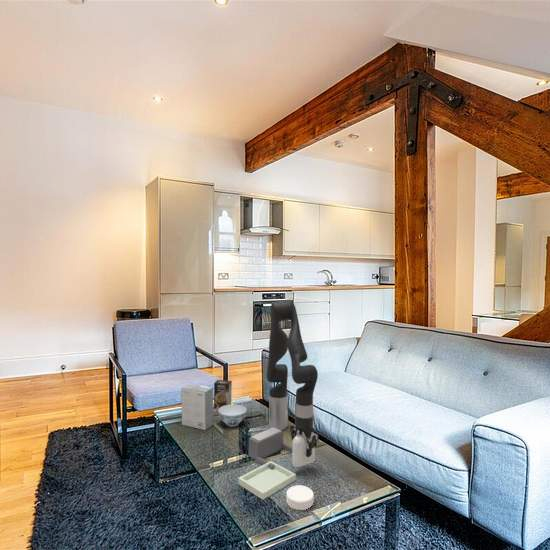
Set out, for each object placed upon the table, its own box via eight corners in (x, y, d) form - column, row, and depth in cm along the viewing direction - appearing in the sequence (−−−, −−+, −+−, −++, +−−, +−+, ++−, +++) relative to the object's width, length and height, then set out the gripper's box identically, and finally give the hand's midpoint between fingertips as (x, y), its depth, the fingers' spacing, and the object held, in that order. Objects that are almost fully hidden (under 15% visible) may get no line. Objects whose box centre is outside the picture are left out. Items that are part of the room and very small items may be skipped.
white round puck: (317, 509, 134) (317, 499, 134) (290, 512, 132) (290, 502, 132) (309, 492, 144) (309, 483, 144) (283, 495, 142) (283, 486, 142)
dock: (275, 443, 182) (275, 425, 182) (301, 455, 171) (301, 436, 170) (246, 457, 169) (246, 438, 168) (272, 471, 158) (272, 450, 157)
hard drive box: (213, 424, 201) (213, 387, 201) (205, 430, 194) (205, 392, 194) (189, 419, 208) (189, 383, 207) (180, 424, 201) (180, 387, 200)
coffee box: (213, 410, 221) (213, 382, 220) (216, 406, 227) (217, 379, 227) (228, 411, 219) (228, 383, 219) (231, 407, 226) (231, 380, 225)
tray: (270, 466, 161) (270, 460, 161) (295, 480, 152) (295, 474, 151) (238, 483, 148) (238, 477, 148) (263, 500, 139) (263, 493, 139)
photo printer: (309, 457, 163) (310, 428, 162) (316, 461, 159) (316, 432, 159) (290, 464, 157) (290, 434, 156) (296, 469, 153) (297, 439, 153)
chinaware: (250, 419, 208) (250, 405, 208) (241, 431, 194) (241, 416, 193) (224, 416, 212) (224, 403, 212) (213, 428, 197) (213, 413, 197)
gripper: (323, 416, 155) (322, 457, 156) (297, 406, 165) (296, 444, 166) (312, 421, 149) (311, 464, 150) (285, 411, 159) (284, 450, 160)
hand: (303, 453), depth 158 cm, fingers closed on photo printer, 4 cm apart
